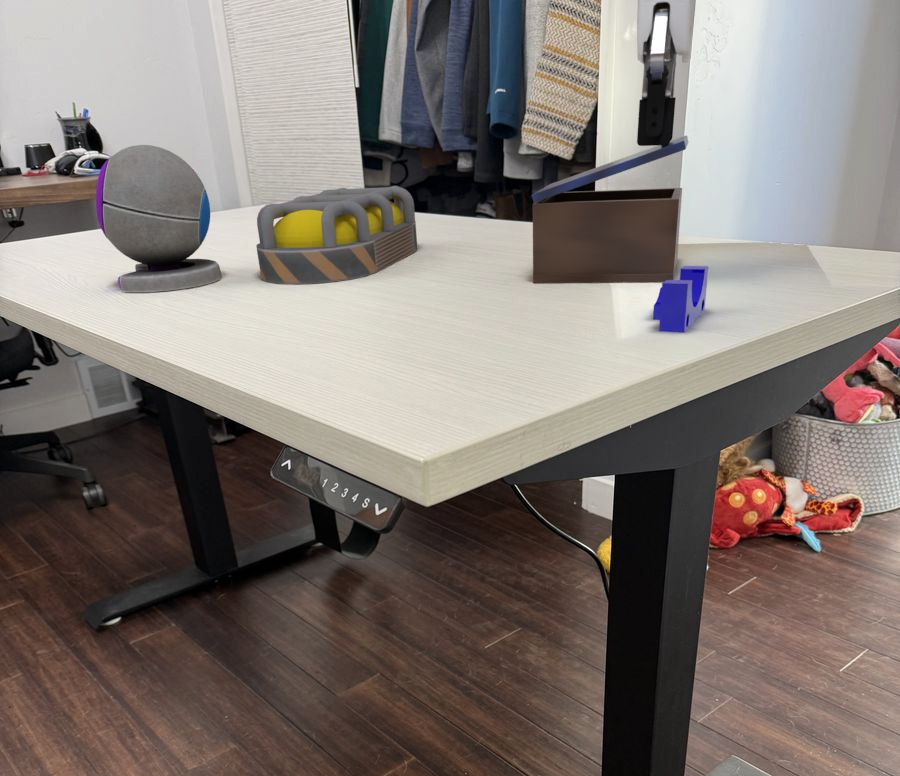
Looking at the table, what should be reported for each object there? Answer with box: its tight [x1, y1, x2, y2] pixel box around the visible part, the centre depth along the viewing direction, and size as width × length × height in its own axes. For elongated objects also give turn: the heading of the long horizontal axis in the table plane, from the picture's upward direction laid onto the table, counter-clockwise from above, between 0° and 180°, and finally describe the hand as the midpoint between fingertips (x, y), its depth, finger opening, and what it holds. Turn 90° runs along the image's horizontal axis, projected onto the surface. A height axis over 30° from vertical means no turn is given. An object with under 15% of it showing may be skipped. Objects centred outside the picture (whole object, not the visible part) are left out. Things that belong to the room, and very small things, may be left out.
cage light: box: [256, 185, 418, 285], centre depth 110 cm, size 15×8×30 cm
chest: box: [532, 187, 683, 284], centre depth 93 cm, size 15×12×8 cm
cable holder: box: [652, 265, 709, 333], centre depth 71 cm, size 8×4×4 cm, turn 154°
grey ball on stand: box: [95, 144, 222, 293], centre depth 102 cm, size 13×13×15 cm
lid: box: [531, 98, 689, 203], centre depth 89 cm, size 15×12×6 cm
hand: (655, 141), depth 88 cm, fingers closed on lid, 5 cm apart
